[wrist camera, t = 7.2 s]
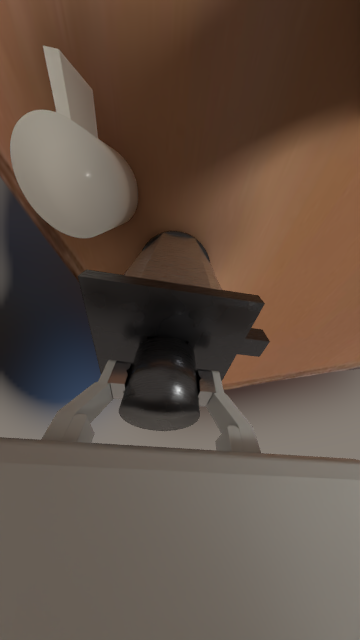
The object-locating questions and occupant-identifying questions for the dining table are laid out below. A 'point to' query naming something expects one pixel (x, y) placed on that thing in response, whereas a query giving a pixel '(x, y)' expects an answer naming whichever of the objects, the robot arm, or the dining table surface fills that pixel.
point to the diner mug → (71, 160)
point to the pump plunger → (162, 386)
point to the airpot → (171, 306)
